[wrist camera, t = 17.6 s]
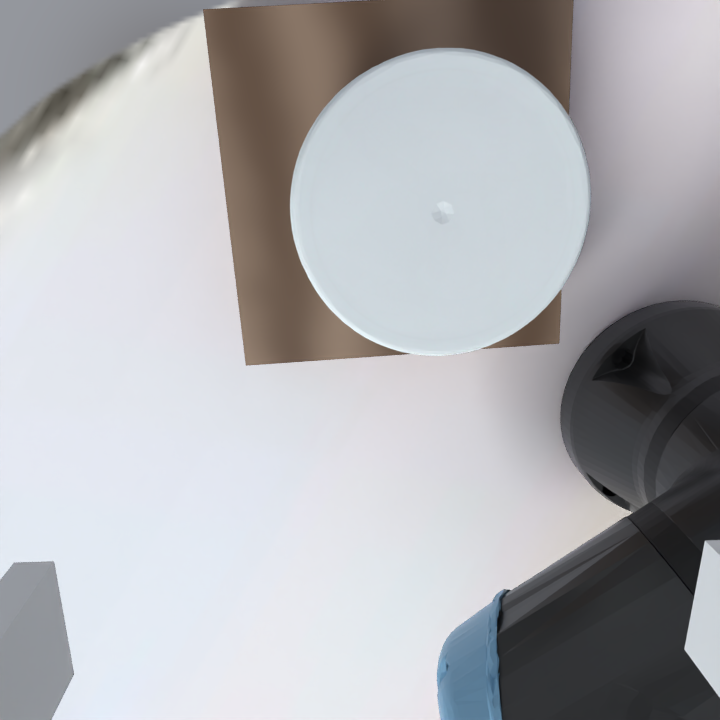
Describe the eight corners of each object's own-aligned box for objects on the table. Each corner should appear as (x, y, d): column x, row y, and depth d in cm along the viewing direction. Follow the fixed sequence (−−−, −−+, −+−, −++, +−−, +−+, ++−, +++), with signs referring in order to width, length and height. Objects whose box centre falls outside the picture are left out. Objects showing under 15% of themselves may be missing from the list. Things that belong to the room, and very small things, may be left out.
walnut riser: (534, 16, 36) (573, -11, 30) (527, 318, 42) (559, 343, 36) (223, 34, 36) (203, 9, 30) (257, 337, 41) (245, 365, 35)
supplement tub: (523, 182, 33) (668, 197, 19) (405, 317, 35) (457, 421, 21) (385, 51, 31) (434, -41, 17) (268, 203, 33) (223, 234, 19)
